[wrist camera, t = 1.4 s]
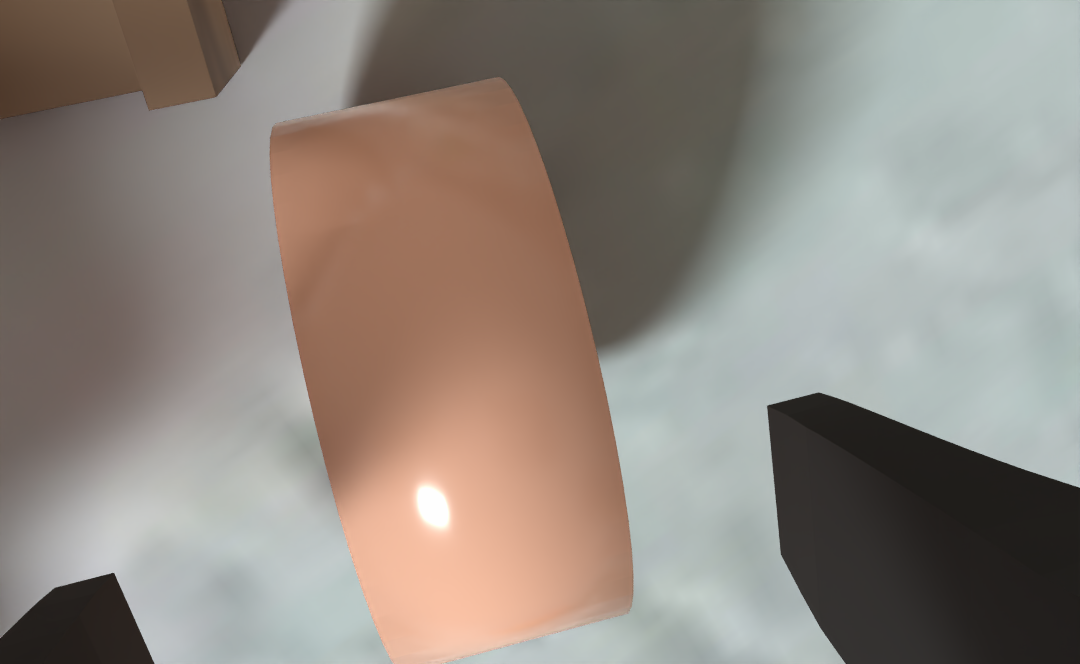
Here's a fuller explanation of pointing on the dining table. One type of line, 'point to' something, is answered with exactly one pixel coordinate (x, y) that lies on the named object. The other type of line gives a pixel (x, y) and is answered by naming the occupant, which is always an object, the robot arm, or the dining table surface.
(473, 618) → the peach cylinder disc
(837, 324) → the dining table surface
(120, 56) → the rack
